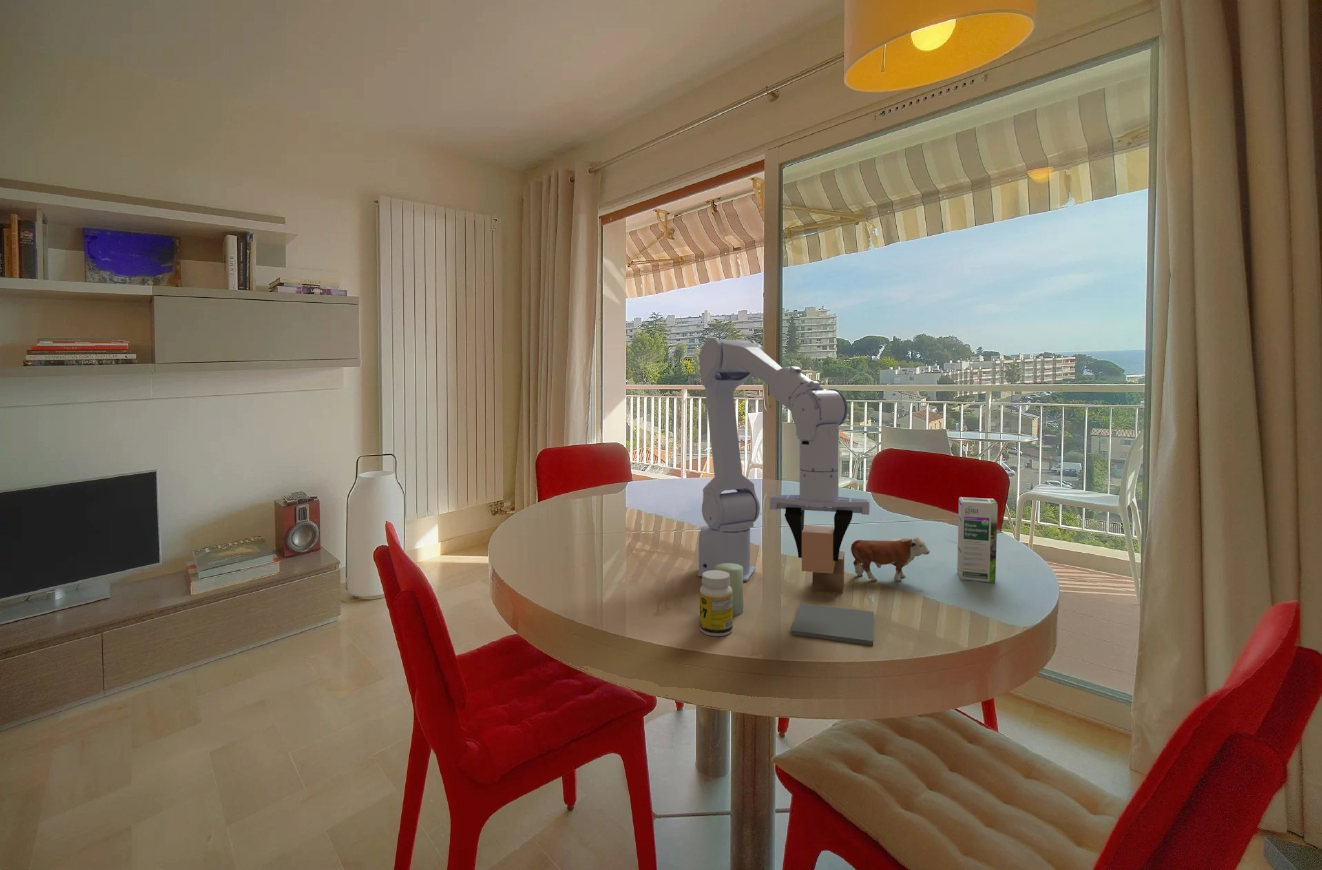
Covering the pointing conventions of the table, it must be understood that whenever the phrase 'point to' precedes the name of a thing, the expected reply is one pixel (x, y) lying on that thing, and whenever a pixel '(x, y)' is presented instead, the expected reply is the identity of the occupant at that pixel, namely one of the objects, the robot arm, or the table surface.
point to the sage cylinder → (734, 585)
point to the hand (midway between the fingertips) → (818, 557)
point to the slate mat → (834, 624)
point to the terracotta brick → (818, 549)
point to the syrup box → (977, 539)
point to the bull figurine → (886, 554)
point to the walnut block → (830, 578)
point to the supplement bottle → (716, 603)
